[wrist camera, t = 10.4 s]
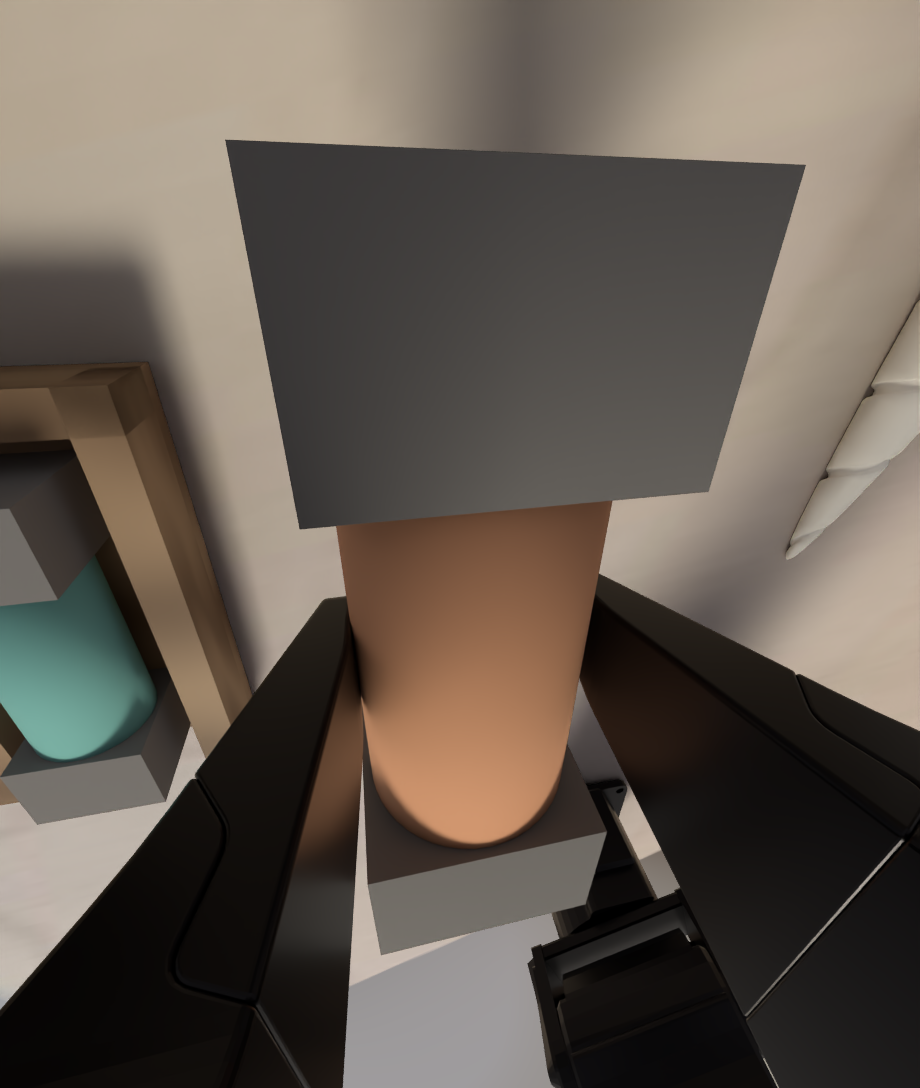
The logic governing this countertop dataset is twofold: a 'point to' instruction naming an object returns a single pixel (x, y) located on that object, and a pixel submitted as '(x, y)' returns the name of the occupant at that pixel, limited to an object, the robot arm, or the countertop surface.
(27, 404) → the wooden tray
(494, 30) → the countertop surface
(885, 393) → the unicorn horn
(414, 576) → the orange capped cylinder
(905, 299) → the countertop surface
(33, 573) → the teal capped cylinder
